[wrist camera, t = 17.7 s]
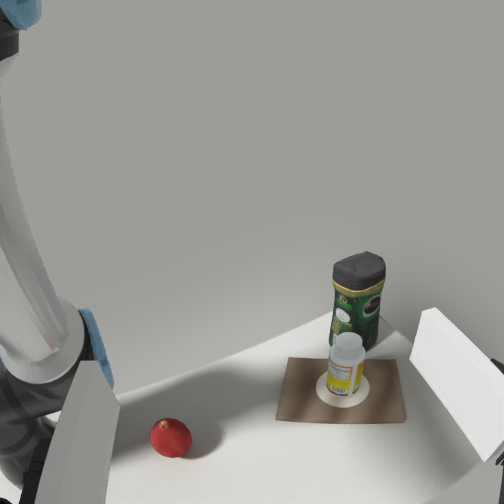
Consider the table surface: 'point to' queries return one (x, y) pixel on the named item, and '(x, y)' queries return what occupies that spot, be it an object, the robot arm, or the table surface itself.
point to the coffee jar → (357, 297)
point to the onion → (170, 438)
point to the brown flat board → (340, 408)
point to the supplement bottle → (345, 365)
